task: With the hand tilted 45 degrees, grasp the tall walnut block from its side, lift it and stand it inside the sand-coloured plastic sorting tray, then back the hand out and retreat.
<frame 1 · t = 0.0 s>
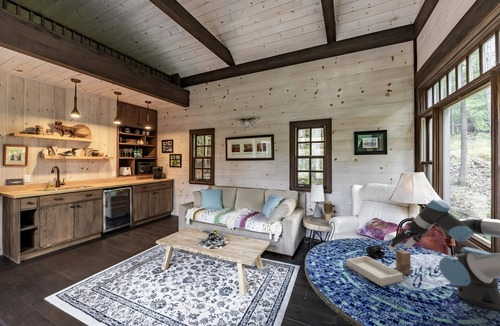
hand: (398, 247, 123), 15 cm above the table, tool tilted 35°, fingers open, 13 cm apart
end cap: (375, 256, 148), on the table
walnut block: (403, 271, 125), on the table
sorting tray: (372, 272, 124), on the table
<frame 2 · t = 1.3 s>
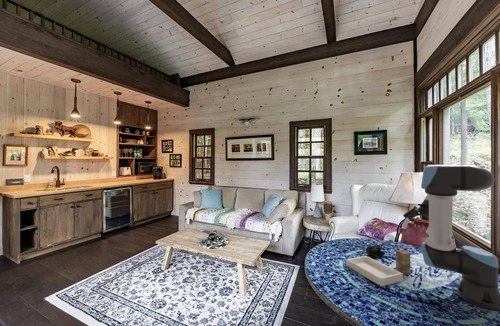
hand: (414, 230, 129), 24 cm above the table, tool tilted 45°, fingers open, 13 cm apart
nothing on the table moved.
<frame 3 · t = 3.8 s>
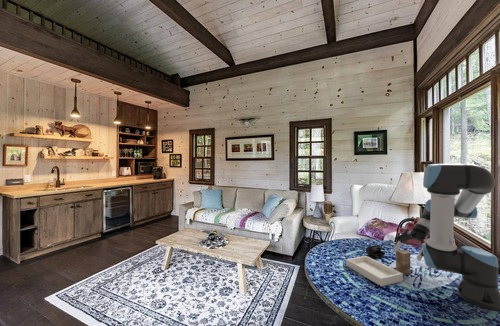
hand: (405, 255, 128), 9 cm above the table, tool tilted 45°, fingers open, 13 cm apart
nothing on the table moved.
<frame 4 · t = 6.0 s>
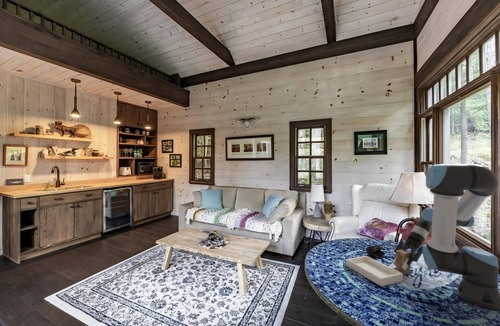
hand: (398, 266, 124), 4 cm above the table, tool tilted 45°, fingers closed on walnut block, 5 cm apart
walnut block: (403, 271, 125), on the table, touching gripper
everything else where it was.
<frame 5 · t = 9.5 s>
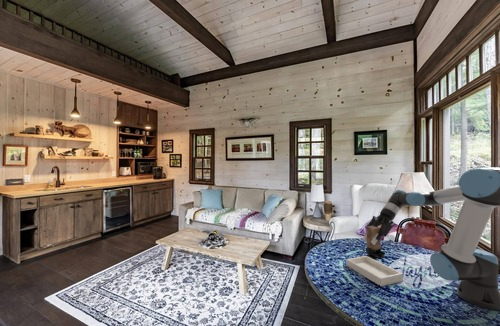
hand: (368, 241, 124), 18 cm above the table, tool tilted 45°, fingers closed on walnut block, 5 cm apart
walnut block: (373, 247, 125), point 14 cm above the table, touching gripper
everything else where it was.
when the fingers open (6 cm above the table, at t = 13.2 s): walnut block drops 1 cm, resting on sorting tray.
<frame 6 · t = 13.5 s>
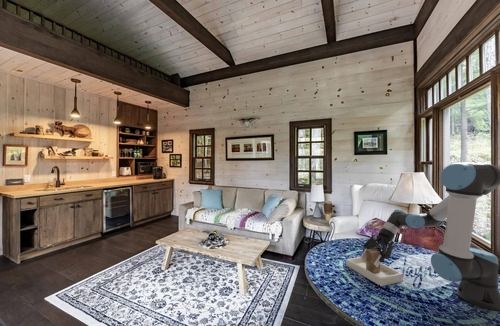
hand: (368, 262, 123), 7 cm above the table, tool tilted 45°, fingers open, 9 cm apart
walnut block: (372, 271, 124), point 1 cm above the table, touching sorting tray
everything else where it was.
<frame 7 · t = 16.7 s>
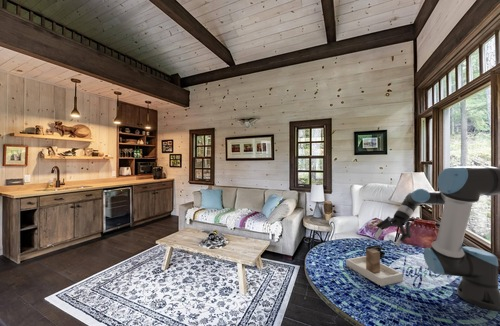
hand: (385, 241, 128), 17 cm above the table, tool tilted 45°, fingers open, 13 cm apart
nothing on the table moved.
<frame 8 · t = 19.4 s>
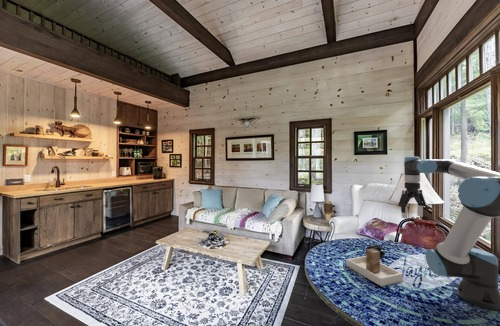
hand: (412, 217, 128), 32 cm above the table, tool pointing down, fingers open, 13 cm apart
nothing on the table moved.
at the end: walnut block inside the target area on the sorting tray (0.1 cm from its centre), point 1.0 cm above the sorting tray's base; walnut block tilted 0°; the gripper is holding nothing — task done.
